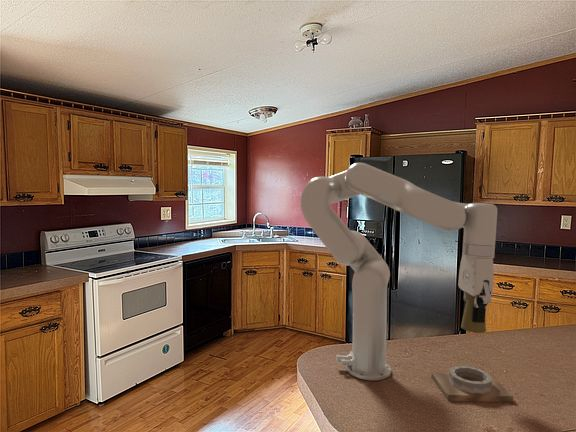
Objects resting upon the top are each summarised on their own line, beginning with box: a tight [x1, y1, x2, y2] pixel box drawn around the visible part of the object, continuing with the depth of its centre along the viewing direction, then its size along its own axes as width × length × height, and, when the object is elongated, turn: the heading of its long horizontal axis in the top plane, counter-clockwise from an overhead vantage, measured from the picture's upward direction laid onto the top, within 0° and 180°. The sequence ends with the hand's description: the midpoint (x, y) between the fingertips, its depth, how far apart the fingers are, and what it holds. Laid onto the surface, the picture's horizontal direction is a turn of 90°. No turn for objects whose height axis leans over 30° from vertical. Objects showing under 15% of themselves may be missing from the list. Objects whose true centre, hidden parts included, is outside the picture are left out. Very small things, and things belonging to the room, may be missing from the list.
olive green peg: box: [460, 292, 487, 334], centre depth 103 cm, size 6×6×11 cm
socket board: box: [431, 365, 514, 403], centre depth 103 cm, size 16×12×4 cm
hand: (473, 318), depth 103 cm, fingers closed on olive green peg, 4 cm apart
